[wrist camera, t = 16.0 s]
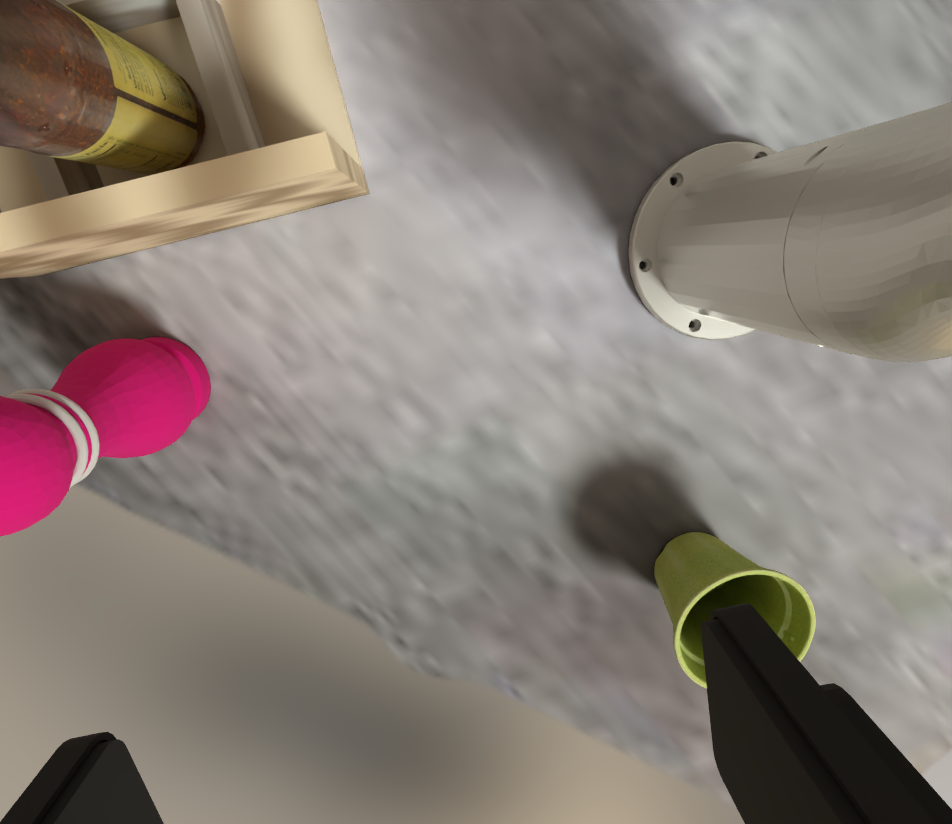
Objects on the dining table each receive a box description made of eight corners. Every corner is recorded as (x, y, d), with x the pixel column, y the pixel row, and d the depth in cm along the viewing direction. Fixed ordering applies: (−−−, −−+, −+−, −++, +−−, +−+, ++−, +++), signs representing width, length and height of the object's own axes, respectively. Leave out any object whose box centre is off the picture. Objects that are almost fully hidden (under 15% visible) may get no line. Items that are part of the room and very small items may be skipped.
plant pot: (619, 533, 44) (660, 599, 36) (735, 495, 44) (804, 552, 36) (647, 629, 47) (692, 711, 39) (757, 593, 47) (826, 668, 38)
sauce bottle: (105, 50, 33) (-364, -228, 14) (216, 79, 33) (-82, -148, 14) (99, 169, 34) (-326, 69, 15) (205, 194, 35) (-76, 128, 16)
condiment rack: (305, -41, 33) (231, -198, 21) (369, 193, 36) (336, 168, 25) (-61, 52, 33) (-331, -53, 21) (39, 275, 37) (-145, 288, 25)
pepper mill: (95, 337, 38) (-260, 428, 19) (202, 321, 38) (-41, 395, 19) (128, 438, 40) (-161, 614, 21) (230, 423, 40) (37, 583, 21)
